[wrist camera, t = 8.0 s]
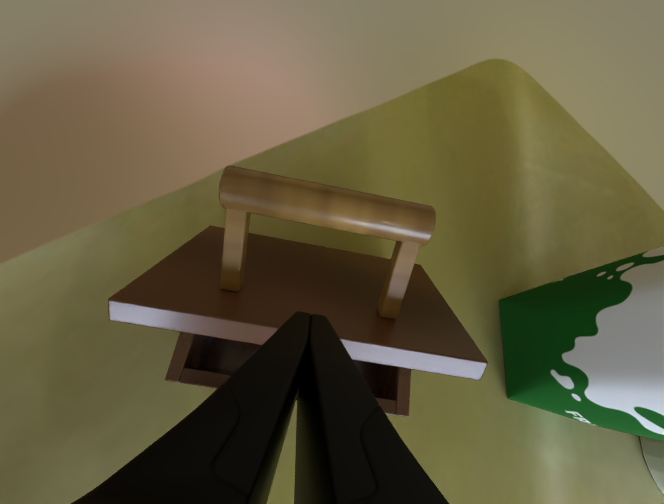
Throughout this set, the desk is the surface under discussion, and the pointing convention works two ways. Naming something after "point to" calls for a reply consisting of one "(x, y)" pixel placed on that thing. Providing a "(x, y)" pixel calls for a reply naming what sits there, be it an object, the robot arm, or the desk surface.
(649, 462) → the reusable coffee cup
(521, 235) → the desk surface
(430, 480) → the robot arm
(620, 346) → the milk carton
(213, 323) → the tea lid
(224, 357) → the tea box
